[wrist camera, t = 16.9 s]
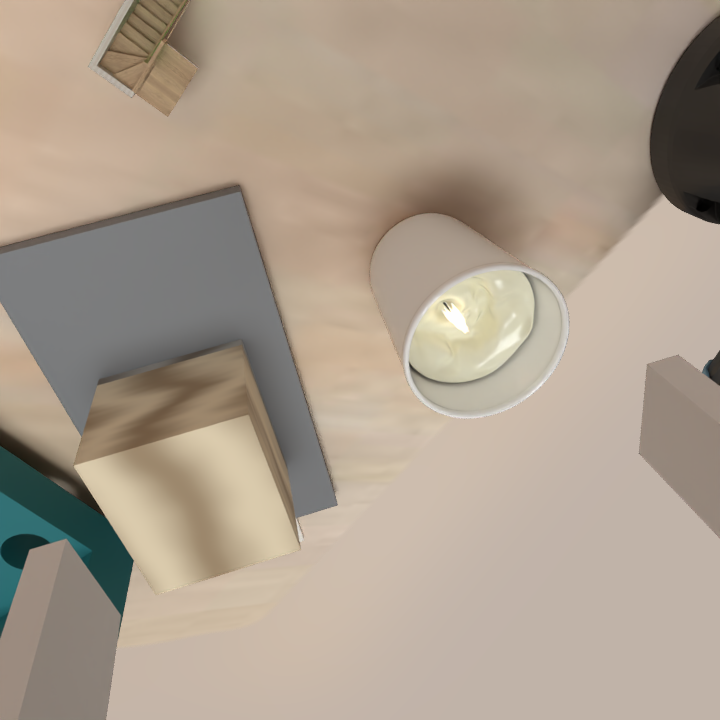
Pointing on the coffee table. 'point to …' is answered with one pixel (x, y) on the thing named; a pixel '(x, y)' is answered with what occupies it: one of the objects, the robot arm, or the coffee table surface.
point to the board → (161, 312)
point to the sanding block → (189, 467)
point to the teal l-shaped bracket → (54, 532)
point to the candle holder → (466, 316)
